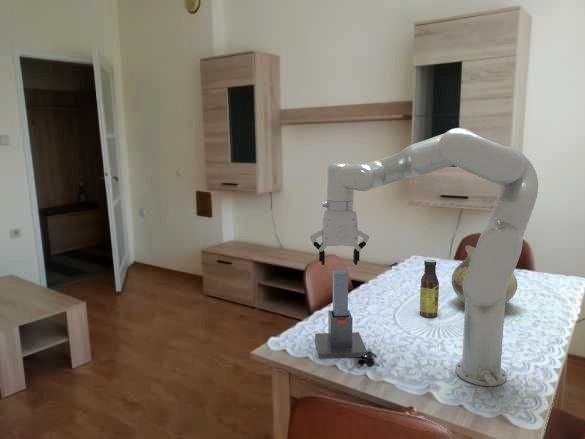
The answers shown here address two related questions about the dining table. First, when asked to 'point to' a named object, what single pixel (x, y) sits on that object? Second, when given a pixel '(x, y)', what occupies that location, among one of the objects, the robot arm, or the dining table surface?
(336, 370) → the dining table surface
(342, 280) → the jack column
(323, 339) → the jack base
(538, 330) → the dining table surface
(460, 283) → the pitcher
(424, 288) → the sauce bottle
